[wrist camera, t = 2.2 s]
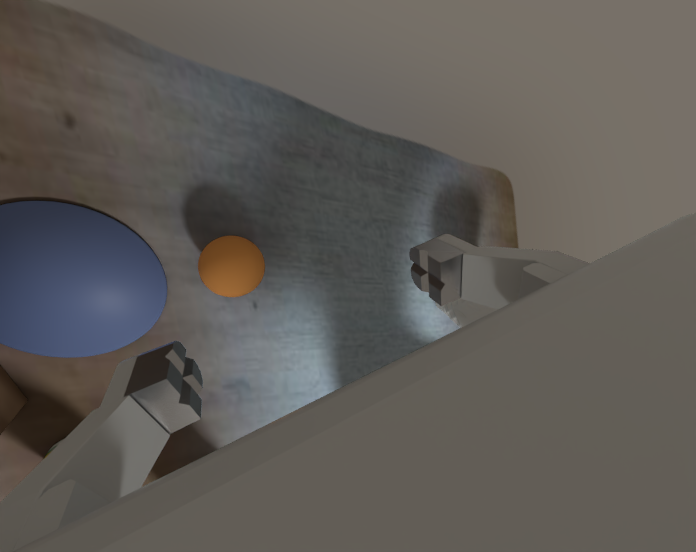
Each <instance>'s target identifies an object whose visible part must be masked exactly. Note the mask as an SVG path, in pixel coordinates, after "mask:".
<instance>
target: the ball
mask: <svg viewBox="0 0 696 552" xmlns="http://www.w3.org/2000/svg"><path fill="white" fill-rule="evenodd" d="M198 270H199V274H200V277H201V279H202V281H203V283H204V284H205V285H206V286H207V287H208V288H209V289H210V290H211V291H213V292H214V293H216V294H218V295H221V296H225V297H238V296H243V295H245V294H248V293H250V292H251V291H253V290H254V289H255V288H256V287H257V286H258V285H259V283H260V282H261V280H262V278H263V275H264V271H265V263H264V258H263V255H262V253H261V252H260V250H259V249H258V247H257V246H256V245H255V244H254V243H252V242H251V241H249V240H247V239H245V238H243V237H239V236H223V237H220V238H217V239H215V240H213V241H212V242H210V243H209V244H208V245H207V246H206V247H205V248H204V249H203V251H202V253H201V255H200V257H199V262H198Z"/></svg>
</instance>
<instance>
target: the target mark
mask: <svg viewBox="0 0 696 552" xmlns="http://www.w3.org/2000/svg"><path fill="white" fill-rule="evenodd" d="M166 297H167V282H166V277H165V273H164V270H163V268H162V265H161V263H160V261H159V259H158V258H157V256H156V255H155V253H154V252H153V250H152V249H151V248H150V247H149V246H148V245H147V243H146V242H145V241H144V240H143V239H141V238H140V237H139V236H138V235H137V234H136V233H134V232H133V231H132V230H130V229H129V228H128V227H126V226H125V225H123V224H121V223H120V222H118V221H116V220H114V219H113V218H110V217H108V216H106V215H104V214H102V213H99V212H96V211H94V210H91V209H88V208H85V207H81V206H77V205H73V204H67V203H61V202H54V201H21V202H14V203H8V204H3V205H0V343H1V344H4V345H6V346H8V347H11V348H14V349H17V350H21V351H24V352H28V353H33V354H37V355H44V356H51V357H85V356H93V355H98V354H103V353H107V352H110V351H114V350H117V349H119V348H122V347H124V346H126V345H128V344H130V343H132V342H134V341H136V340H137V339H138V338H140V337H141V336H143V335H144V334H145V333H146V332H147V331H148V330H150V329H151V327H152V326H153V325H154V324H155V323H156V321H157V320H158V318H159V317H160V315H161V313H162V311H163V308H164V306H165V302H166Z"/></svg>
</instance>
